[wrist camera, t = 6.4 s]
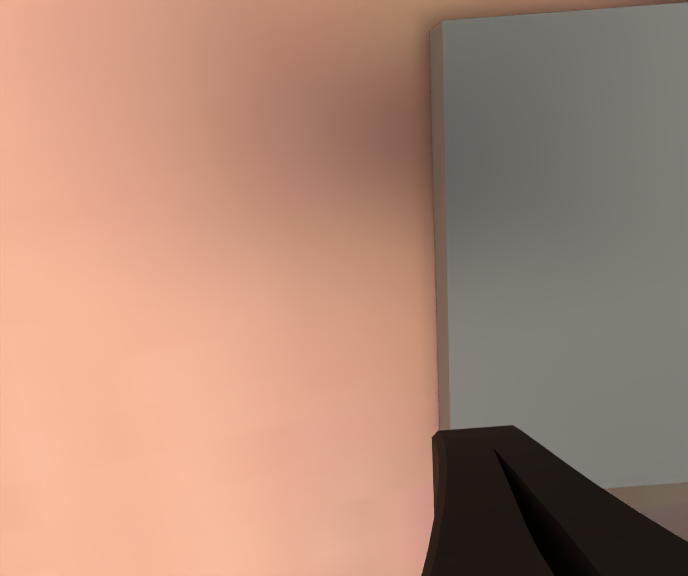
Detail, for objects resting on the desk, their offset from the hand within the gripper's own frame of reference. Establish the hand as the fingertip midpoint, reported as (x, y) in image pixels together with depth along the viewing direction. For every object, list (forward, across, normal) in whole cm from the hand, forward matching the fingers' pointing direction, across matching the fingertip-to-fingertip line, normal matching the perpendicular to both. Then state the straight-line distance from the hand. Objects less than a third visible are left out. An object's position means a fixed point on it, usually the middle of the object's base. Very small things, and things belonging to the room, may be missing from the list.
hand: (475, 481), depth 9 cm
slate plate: (+9, -8, -1) cm, 12 cm away
